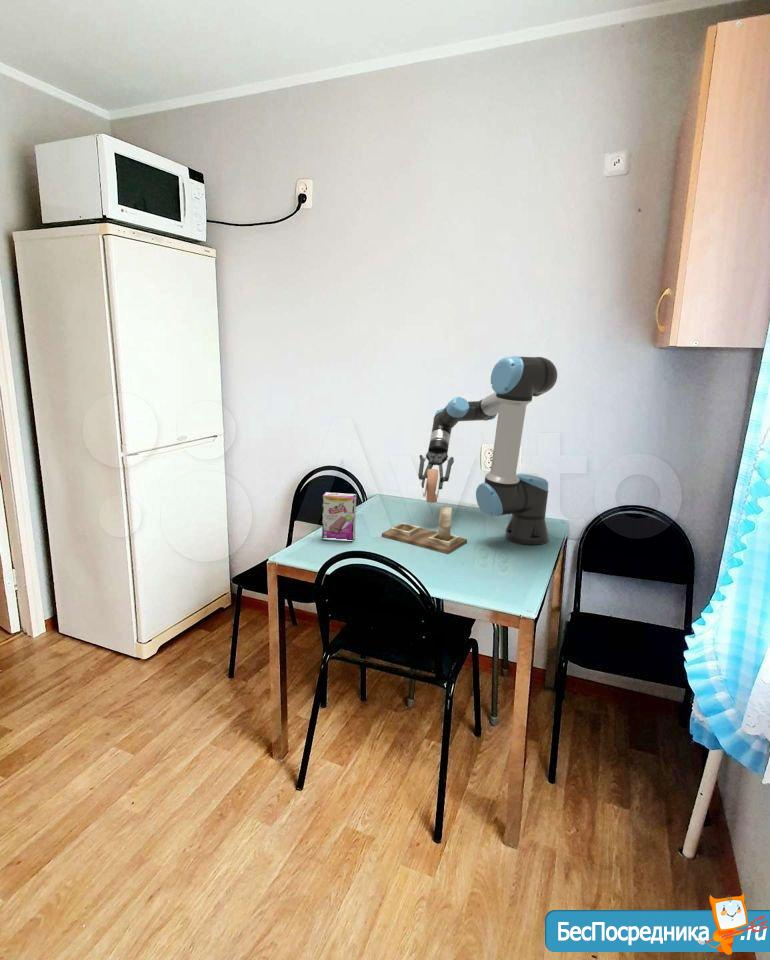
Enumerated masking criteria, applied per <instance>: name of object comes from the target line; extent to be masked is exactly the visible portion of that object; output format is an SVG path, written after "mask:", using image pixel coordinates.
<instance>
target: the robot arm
mask: <svg viewBox="0 0 770 960" xmlns="http://www.w3.org/2000/svg"><path fill="white" fill-rule="evenodd" d="M490 374H491V375H490V385H491V388H492V390H493V393H491V394H489V395H487V396H485V397H484V398H481V399H480V400H478V401H477V400H475V401H474V400H473V401H472V400H471V401H468V400H467V399H465V398H464V397H461V396H457V397H454V398H452V399H451V400H450V401H448V403H447V404H446V406H445V407H444V408H440V409H438V410H436V412H435V413H434V417H433V422H432V423H433V424H432V428H431V434H430V439H429V445H428V450H427V452H426V453H425V454H424V455H422V454H419V466H418V473H417V475H418V479H419V481H420V480H421V484H420V485H421V488H422V489H423V490H422V496H423V497H424V498H425V497H426V498H427V471H428V469H433V467H434V466H438V474H439V478H438V480H437V486H436V492H435V496H436V498H437V499H438V498H439V493H440V490H443V486H444V485H443V484H444V483H445V482H449V480H450V474H451V470H452V465H453V464H454V462H455V459H454V457H453V456H451V457H449V455H448V454H449V453H448V452H449V451H448V450H449V445H450V441H451V440H450V439H451V434H452V430H453V428H454V427H455V426H456V425H457V424H458V423H459V422H472V421H475V422H476V421H485V422H486V421H491V420H494V419H495V418H496V416H497V421H496V430H495V434H494V442H493V452H492V459H491V464H490V465H491V466H490V470H489V472H487V473H486V474H485V477H484V482H482V483H480V484H479V485H478V486H477V487H476V491H475V499H476V503H477V505H478V508H479V509H480V511H482V513H483V514H484V515H485V516H489V517H501V516H505V515H511V517H510V520H509V521H508V524H507V527H506V528H505V534H504V535H505V539H507V540H509V541H511V542H513V543H516V544H520V543H521V544H520V545H526V544H540V545H543V544H542V543H544V544H546V543H548V541H549V531H548V527H547V523H546V513H547V512H546V511H547V505H548V504H547V503H548V496H549V482H548V480H547V479H545V478H543V477H540V476H536V475H532V474H527V473H526V474H525V473H517V471H518V463H519V456H520V450H521V442H522V438H523V430H524V424H525V423H524V422H525V417H526V411H527V405H529V404H530V403H532V401H533V397H540V396H542V395H544V394H545V393H547V392H549V391H550V390H552V389H553V387H555V385H556V383H557V379H558V370H557V367H556V365H555V364H554V362H552V361H551V360H550V359H548V358H545V357H543V356H518V355H516V356H514V355H513V356H505V357H502V358H500V359H499V360H498V361H497V362H496V363H495V364H494V366H493V368H492V370H491V373H490ZM426 459H427V461H428V463H427V466H426V468H425V470H424V467H425V462H426ZM446 461H447V465H446V470H445V475H444V470H443V464H444V463H445V462H446ZM545 542H546V543H545Z"/></svg>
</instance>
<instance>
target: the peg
mask: <svg viewBox="0 0 770 960" xmlns="http://www.w3.org/2000/svg"><path fill="white" fill-rule="evenodd" d="M438 479H439V469H437V468H436V469H435V468H432V469H428V471H427V491H426V499H425V500H426V502H427V503H431V504H432V503H434V504H435V503H437V502H438V498H436V496H435V492H436V486H437V480H438Z"/></svg>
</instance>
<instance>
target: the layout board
mask: <svg viewBox="0 0 770 960" xmlns="http://www.w3.org/2000/svg"><path fill="white" fill-rule="evenodd" d="M452 511H453V509H452V507H450V506H441V507H439V518H438V519H439V520H438V522H439V523H438V531H435V530H430V529H426V528H422V527H420V526H418V525H413V524H409V523H404V522H401V523H398V524H396V525H394V526H391V527H389V530H386V531H384V532H382V533H381V537H384V538H385V539H389V540H395V541H398V542H402V543H405V544H410V545H412V546H416V547H420V548H424V549H428V550H431V551H432V550H433V551H435V552H439V553H443V554H446V555H448V554H450V553H452V552H454V551H456V550H457V549H459V548H460V547H462V546H463V545H465V544H467V543H468V538H464V537H460V536H459V535H455V534H452V533H451V529H452V528H451V527H452V525H451V524H452Z"/></svg>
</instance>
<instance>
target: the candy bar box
mask: <svg viewBox="0 0 770 960" xmlns="http://www.w3.org/2000/svg"><path fill="white" fill-rule="evenodd" d="M356 512H357V494H356V493H341V492H330V491H329V492H327V491H326V492H324V493H323V495H322V519H321V520H322V522H321V524H322V525H321V526H322V527H321V530H322V531H321V539H322V538H336V539H347V540H353V539H354V537H355V538H356V521H357V520H356V518H357V516H356ZM354 540H355V539H354ZM354 540H353V541H354Z"/></svg>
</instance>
